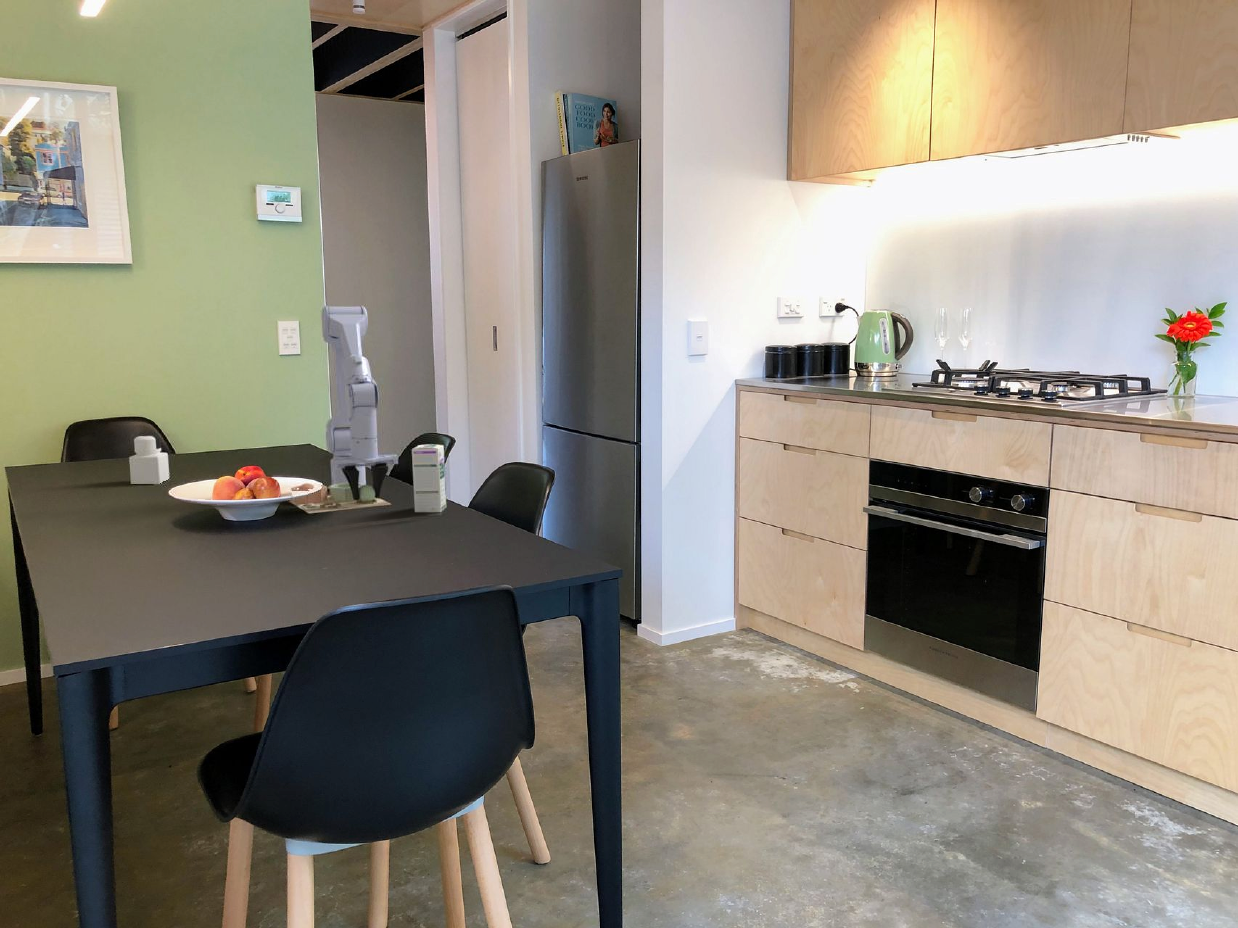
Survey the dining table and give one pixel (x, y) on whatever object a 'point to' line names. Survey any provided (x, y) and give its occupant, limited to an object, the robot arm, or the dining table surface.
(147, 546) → the dining table surface
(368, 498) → the sage ball
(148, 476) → the medicine bottle
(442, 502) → the syrup box
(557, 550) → the dining table surface
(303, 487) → the terracotta ball
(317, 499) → the terracotta tube
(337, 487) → the green octagonal ring
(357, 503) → the board
